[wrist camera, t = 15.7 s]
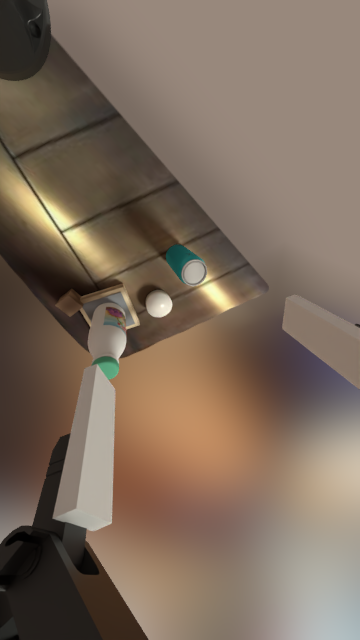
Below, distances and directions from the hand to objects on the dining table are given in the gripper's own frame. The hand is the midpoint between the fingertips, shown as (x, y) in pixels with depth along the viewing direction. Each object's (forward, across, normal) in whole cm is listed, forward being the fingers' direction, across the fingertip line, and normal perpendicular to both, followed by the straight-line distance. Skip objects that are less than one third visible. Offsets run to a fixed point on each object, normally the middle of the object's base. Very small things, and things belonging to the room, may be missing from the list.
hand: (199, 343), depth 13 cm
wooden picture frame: (+39, -14, -14) cm, 43 cm away
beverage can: (+39, +7, -5) cm, 40 cm away
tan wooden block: (+39, -21, -8) cm, 45 cm away
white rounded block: (+39, -1, -16) cm, 42 cm away
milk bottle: (+36, -14, -14) cm, 41 cm away
